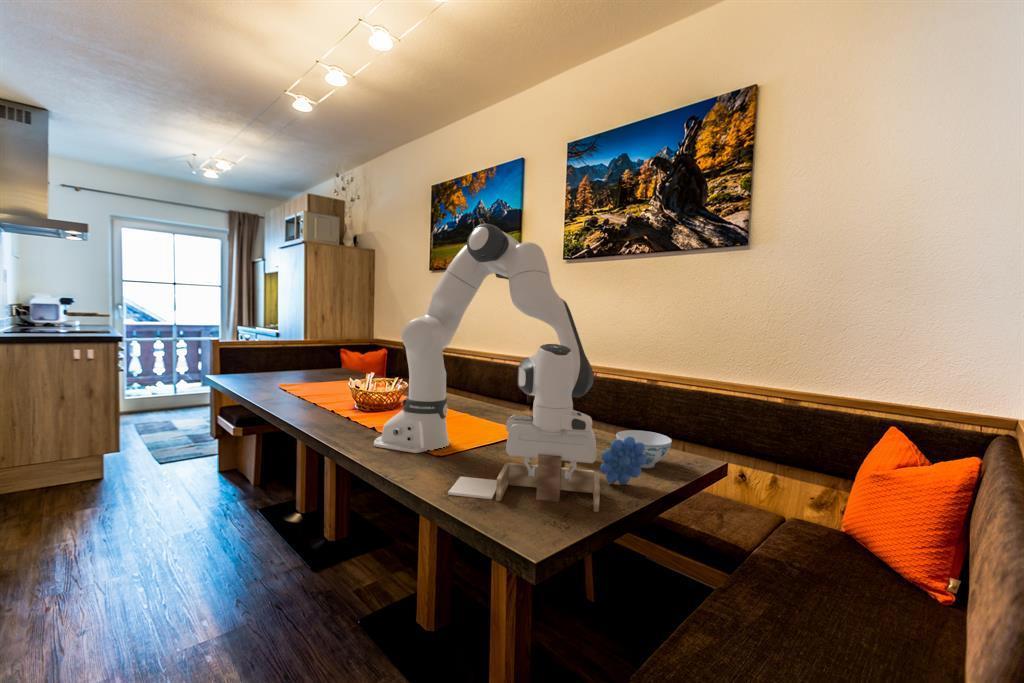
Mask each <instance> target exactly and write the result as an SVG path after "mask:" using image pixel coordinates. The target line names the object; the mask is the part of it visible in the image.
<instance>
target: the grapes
mask: <svg viewBox="0 0 1024 683" xmlns="http://www.w3.org/2000/svg"><path fill="white" fill-rule="evenodd" d="M644 450H645V446H644V444H643V443H641V442H637V443H635V439H634V438H633V437H627V438H625V439H624V441H623V442H622V441H621V440H617V438H616V439H614V440H613V441H612V442H611V443H610V449H609V448H607V449H605V450H604V451H602V453H601V454H600V455H601V460H602V461H603V462H602V463H601V465H600V466H599V473H601V474H603V475H606V476H605V478H606V482H607V483H609V484H614V483H616V482H617V481H618V483H619V484H620V485H627V484H628V483H630V480H631V478H634V479H637V478H639V477H640V475H641V474H642V472H643V471H642V467H640V466H643V465H645V464H646V462H647V456H646V455H645V454H642V453H643V452H644Z"/></svg>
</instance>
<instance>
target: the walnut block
mask: <svg viewBox="0 0 1024 683" xmlns="http://www.w3.org/2000/svg"><path fill="white" fill-rule="evenodd" d="M537 465H538V472H537V487H536V496H535V497H536V500H537V501H544V502H545V501H546V502H556V503H559V502H560V497H561V490H560V488H561V467H562V461H561V456H553V455H542V454H538V458H537Z"/></svg>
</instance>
